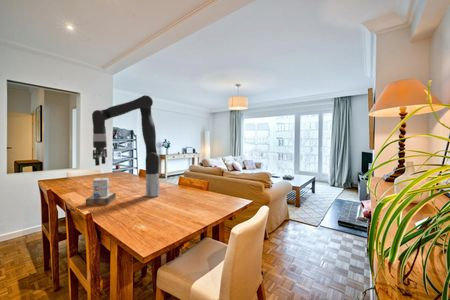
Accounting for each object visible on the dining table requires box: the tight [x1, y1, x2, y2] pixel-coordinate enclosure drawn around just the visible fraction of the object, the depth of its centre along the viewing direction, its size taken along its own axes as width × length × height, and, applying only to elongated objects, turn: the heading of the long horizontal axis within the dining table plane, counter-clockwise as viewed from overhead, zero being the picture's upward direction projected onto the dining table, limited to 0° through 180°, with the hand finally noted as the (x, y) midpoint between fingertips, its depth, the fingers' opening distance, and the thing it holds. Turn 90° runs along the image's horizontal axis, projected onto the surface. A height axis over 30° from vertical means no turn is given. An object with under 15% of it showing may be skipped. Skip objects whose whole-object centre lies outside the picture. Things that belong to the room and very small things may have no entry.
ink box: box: [92, 177, 110, 197], centre depth 129 cm, size 9×5×12 cm, turn 109°
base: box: [85, 192, 117, 206], centre depth 130 cm, size 13×13×4 cm
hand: (100, 164), depth 128 cm, fingers open, 8 cm apart
